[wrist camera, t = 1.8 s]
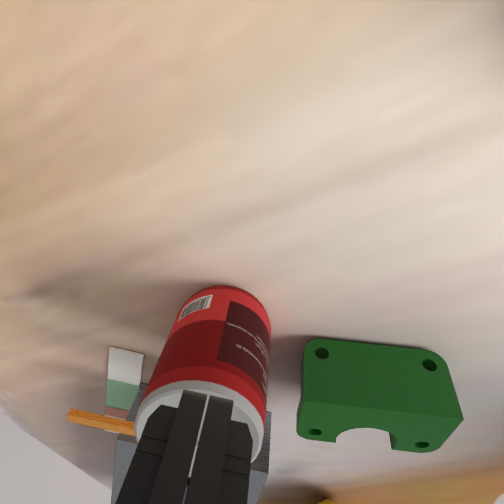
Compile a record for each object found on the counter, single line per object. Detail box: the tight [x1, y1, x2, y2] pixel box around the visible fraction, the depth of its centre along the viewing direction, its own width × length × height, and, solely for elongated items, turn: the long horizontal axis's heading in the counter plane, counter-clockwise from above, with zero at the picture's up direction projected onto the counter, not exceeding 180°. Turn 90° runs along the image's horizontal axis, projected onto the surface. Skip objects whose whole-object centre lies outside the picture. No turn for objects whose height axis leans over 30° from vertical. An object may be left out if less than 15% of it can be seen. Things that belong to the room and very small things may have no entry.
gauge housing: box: [111, 383, 271, 504], centre depth 37 cm, size 12×14×8 cm
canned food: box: [134, 286, 271, 477], centre depth 28 cm, size 8×8×11 cm
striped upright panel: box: [104, 347, 144, 434], centre depth 38 cm, size 3×11×1 cm, turn 168°
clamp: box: [296, 339, 464, 453], centre depth 32 cm, size 12×6×9 cm, turn 80°
